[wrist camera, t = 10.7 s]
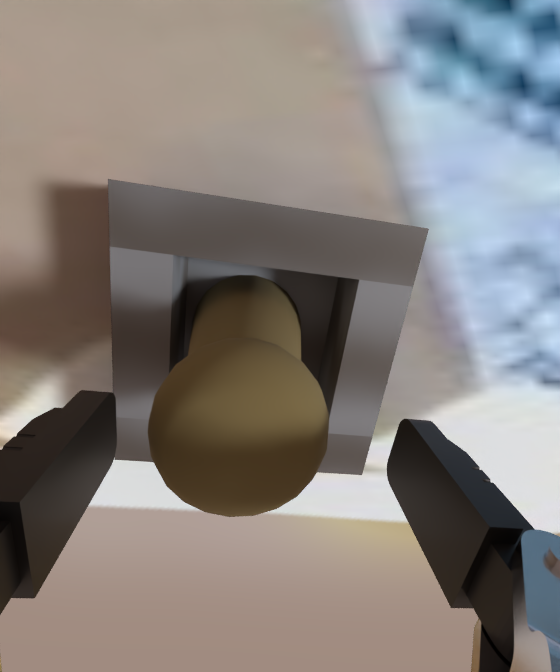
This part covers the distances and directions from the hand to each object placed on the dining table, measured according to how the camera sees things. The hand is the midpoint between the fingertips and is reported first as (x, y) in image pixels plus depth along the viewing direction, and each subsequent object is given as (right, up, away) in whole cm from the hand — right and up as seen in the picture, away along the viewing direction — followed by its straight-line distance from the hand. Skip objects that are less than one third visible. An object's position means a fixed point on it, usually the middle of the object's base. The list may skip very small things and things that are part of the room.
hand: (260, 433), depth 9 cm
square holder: (-1, +3, +10) cm, 10 cm away
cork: (-1, +3, +9) cm, 10 cm away
